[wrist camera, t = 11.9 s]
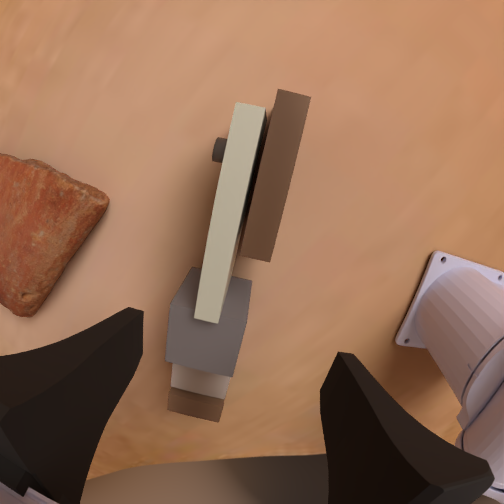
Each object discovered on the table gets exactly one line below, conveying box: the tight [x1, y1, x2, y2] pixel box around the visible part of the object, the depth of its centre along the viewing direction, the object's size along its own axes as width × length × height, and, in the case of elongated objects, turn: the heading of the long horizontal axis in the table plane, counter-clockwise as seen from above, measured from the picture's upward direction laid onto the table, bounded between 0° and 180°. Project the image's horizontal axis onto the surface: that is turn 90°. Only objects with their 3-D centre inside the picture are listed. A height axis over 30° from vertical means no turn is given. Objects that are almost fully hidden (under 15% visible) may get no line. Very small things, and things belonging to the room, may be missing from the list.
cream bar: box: [194, 102, 267, 324], centre depth 16 cm, size 2×10×6 cm, turn 167°
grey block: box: [165, 267, 252, 377], centre depth 18 cm, size 4×4×5 cm
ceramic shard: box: [0, 153, 109, 317], centre depth 18 cm, size 15×6×15 cm
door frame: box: [168, 89, 311, 422], centre depth 18 cm, size 4×22×6 cm, turn 167°
